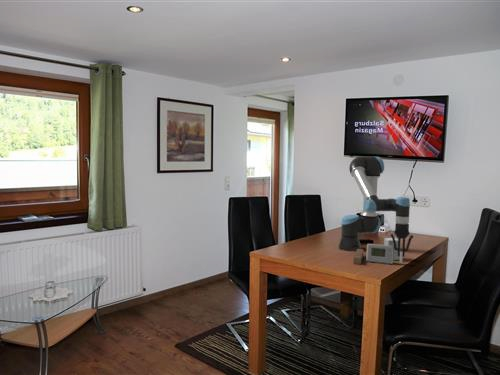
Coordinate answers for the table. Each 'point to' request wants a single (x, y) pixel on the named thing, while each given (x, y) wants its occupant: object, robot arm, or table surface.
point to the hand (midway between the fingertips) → (400, 261)
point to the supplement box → (390, 242)
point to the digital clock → (380, 254)
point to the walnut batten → (358, 256)
